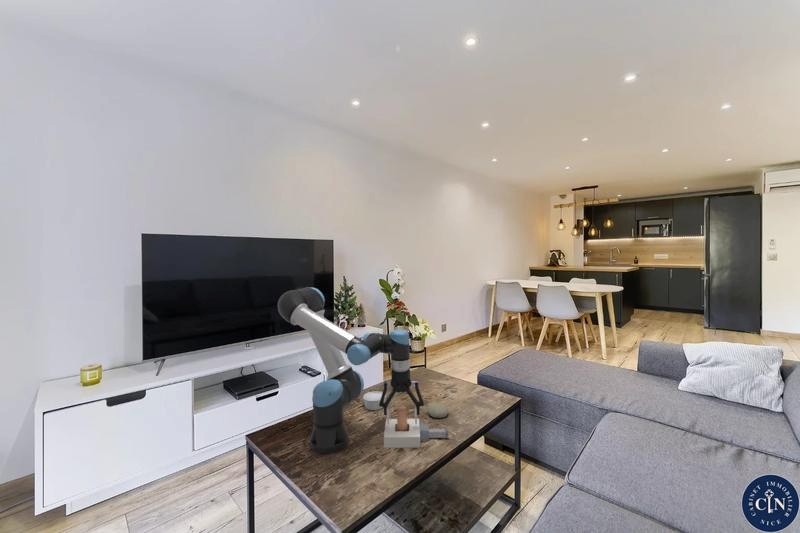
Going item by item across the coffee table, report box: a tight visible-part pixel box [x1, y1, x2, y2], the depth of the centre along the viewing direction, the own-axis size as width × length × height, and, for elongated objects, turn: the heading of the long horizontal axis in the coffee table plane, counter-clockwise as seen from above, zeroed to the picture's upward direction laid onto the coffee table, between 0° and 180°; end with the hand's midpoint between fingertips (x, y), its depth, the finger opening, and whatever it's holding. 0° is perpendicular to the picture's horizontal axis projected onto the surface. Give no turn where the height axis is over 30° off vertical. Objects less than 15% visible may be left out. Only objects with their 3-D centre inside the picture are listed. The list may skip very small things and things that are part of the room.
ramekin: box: [362, 390, 387, 411], centre depth 166 cm, size 11×11×5 cm
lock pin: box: [429, 426, 449, 439], centre depth 137 cm, size 10×3×3 cm, turn 88°
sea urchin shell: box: [427, 402, 449, 419], centre depth 156 cm, size 9×8×8 cm
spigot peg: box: [396, 405, 408, 431], centre depth 137 cm, size 4×4×12 cm
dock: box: [383, 418, 421, 449], centre depth 138 cm, size 14×14×4 cm
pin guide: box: [419, 423, 430, 442], centre depth 138 cm, size 4×5×4 cm
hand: (402, 422), depth 138 cm, fingers open, 10 cm apart
